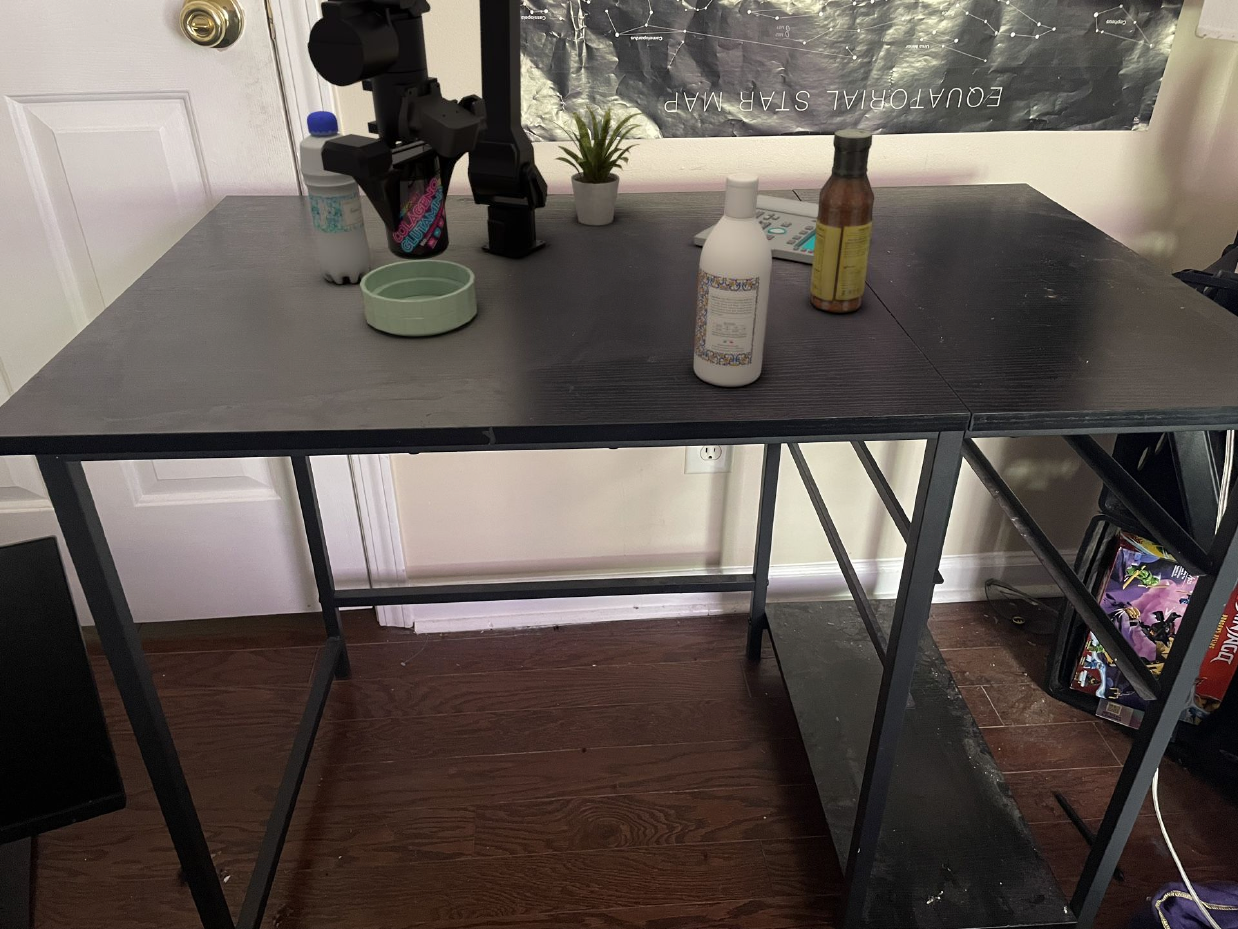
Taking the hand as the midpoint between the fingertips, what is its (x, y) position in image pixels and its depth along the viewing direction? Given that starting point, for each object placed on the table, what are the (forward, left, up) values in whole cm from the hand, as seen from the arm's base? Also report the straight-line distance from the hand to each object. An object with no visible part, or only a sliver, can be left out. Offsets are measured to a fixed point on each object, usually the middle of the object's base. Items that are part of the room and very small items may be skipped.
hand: (416, 222), depth 98 cm
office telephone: (-50, +25, -11) cm, 56 cm away
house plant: (-41, -1, -11) cm, 42 cm away
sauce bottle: (-29, +39, -11) cm, 49 cm away
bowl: (0, 0, -11) cm, 11 cm away
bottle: (-4, -16, -11) cm, 20 cm away
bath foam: (-6, +36, -11) cm, 38 cm away
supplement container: (0, 0, -3) cm, 3 cm away
